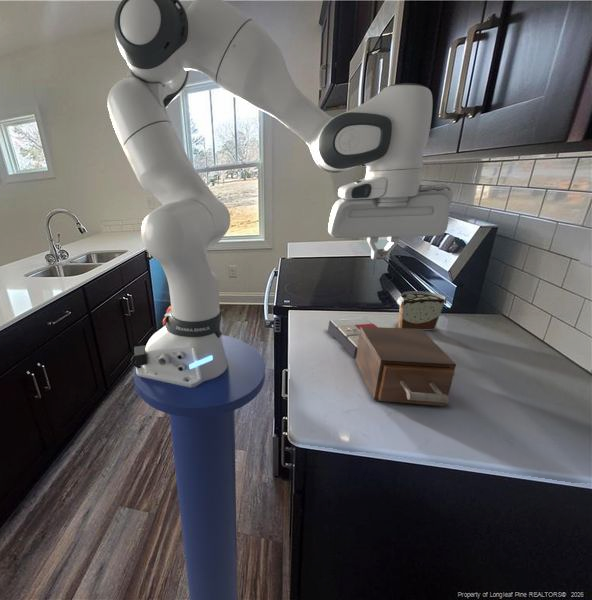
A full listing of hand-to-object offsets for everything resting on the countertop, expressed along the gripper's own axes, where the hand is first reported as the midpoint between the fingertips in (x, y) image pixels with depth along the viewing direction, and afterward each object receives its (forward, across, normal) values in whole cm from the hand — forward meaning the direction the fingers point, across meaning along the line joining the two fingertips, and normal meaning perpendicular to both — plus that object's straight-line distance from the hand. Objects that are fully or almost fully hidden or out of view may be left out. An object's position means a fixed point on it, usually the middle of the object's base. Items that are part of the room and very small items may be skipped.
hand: (379, 258), depth 64 cm
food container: (+27, -20, -26) cm, 43 cm away
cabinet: (+27, -6, +3) cm, 28 cm away
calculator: (+27, -3, -14) cm, 31 cm away
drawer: (+26, -6, +7) cm, 28 cm away
